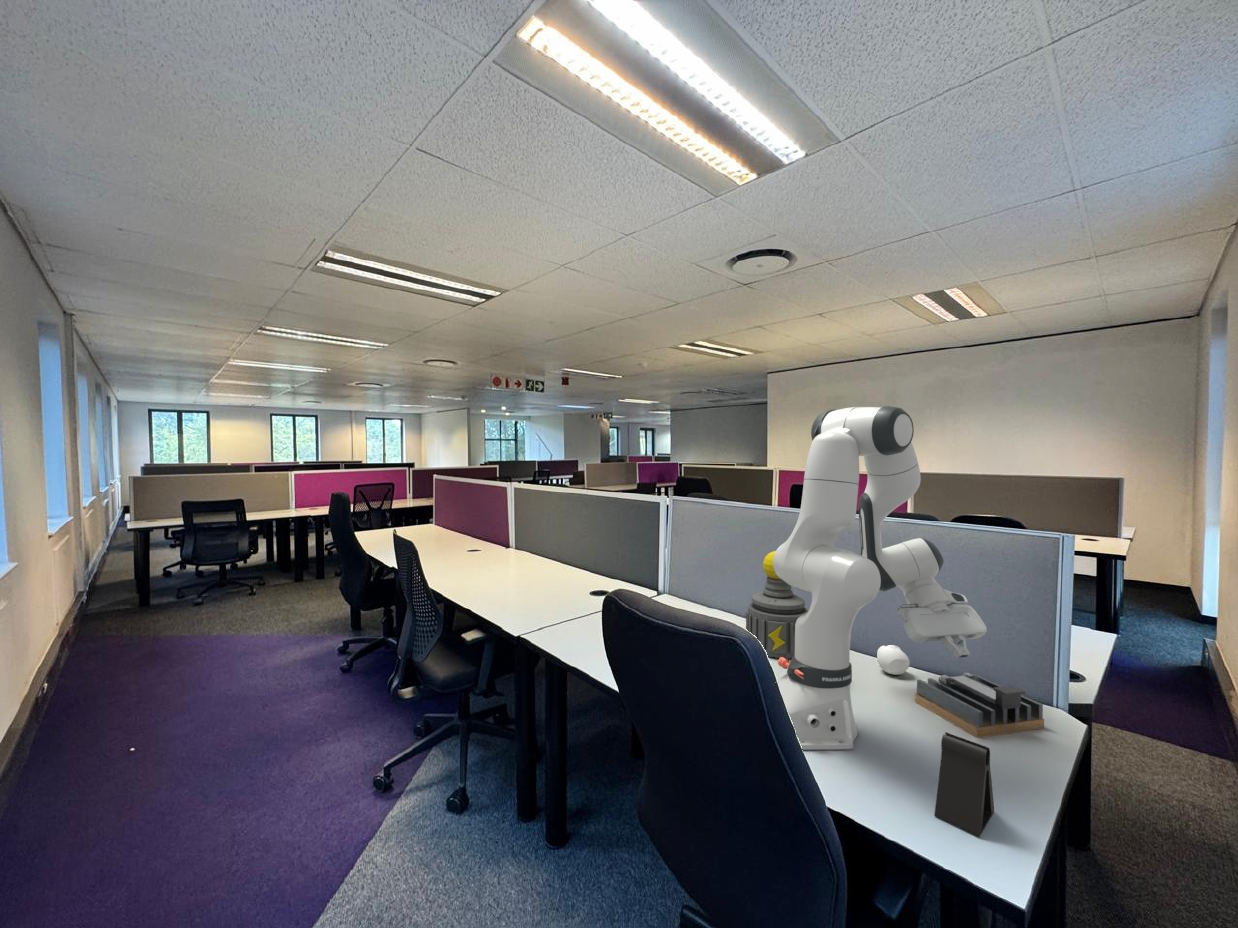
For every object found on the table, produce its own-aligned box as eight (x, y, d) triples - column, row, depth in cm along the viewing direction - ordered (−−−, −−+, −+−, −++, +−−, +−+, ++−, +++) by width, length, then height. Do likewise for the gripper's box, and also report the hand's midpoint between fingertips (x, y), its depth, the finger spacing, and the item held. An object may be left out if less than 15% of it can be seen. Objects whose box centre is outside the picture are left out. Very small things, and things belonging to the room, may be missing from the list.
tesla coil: (747, 634, 165) (748, 544, 165) (808, 641, 159) (809, 547, 159) (743, 655, 147) (744, 554, 147) (811, 664, 141) (813, 558, 141)
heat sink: (980, 739, 103) (981, 696, 103) (914, 701, 119) (915, 664, 119) (1048, 730, 107) (1049, 688, 107) (976, 694, 123) (976, 658, 123)
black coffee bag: (952, 793, 86) (953, 723, 86) (994, 811, 82) (995, 738, 82) (934, 816, 80) (934, 742, 80) (978, 838, 76) (979, 759, 76)
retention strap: (993, 704, 107) (993, 699, 107) (947, 680, 118) (947, 676, 118) (1010, 702, 108) (1010, 697, 108) (963, 678, 120) (963, 674, 120)
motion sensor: (915, 676, 134) (915, 648, 134) (896, 681, 130) (896, 652, 130) (888, 665, 141) (888, 638, 141) (869, 670, 138) (870, 642, 138)
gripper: (901, 598, 122) (934, 653, 112) (970, 595, 126) (1007, 647, 117) (887, 611, 126) (917, 665, 117) (954, 607, 131) (989, 659, 121)
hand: (963, 656), depth 117 cm, fingers closed
